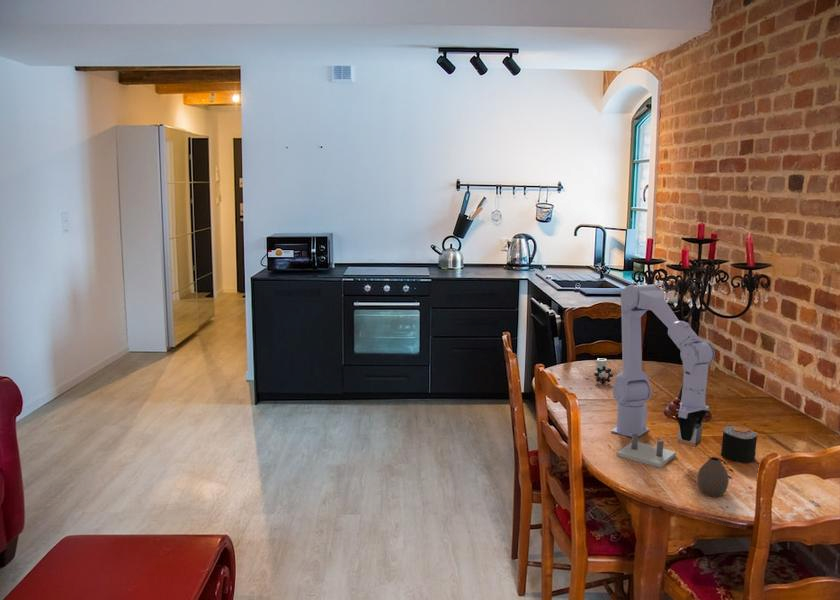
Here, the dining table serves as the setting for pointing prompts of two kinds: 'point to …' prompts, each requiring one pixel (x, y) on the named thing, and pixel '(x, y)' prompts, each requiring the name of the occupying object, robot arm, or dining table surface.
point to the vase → (713, 478)
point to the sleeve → (695, 436)
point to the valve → (602, 370)
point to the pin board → (646, 452)
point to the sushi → (739, 444)
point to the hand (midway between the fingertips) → (689, 437)
